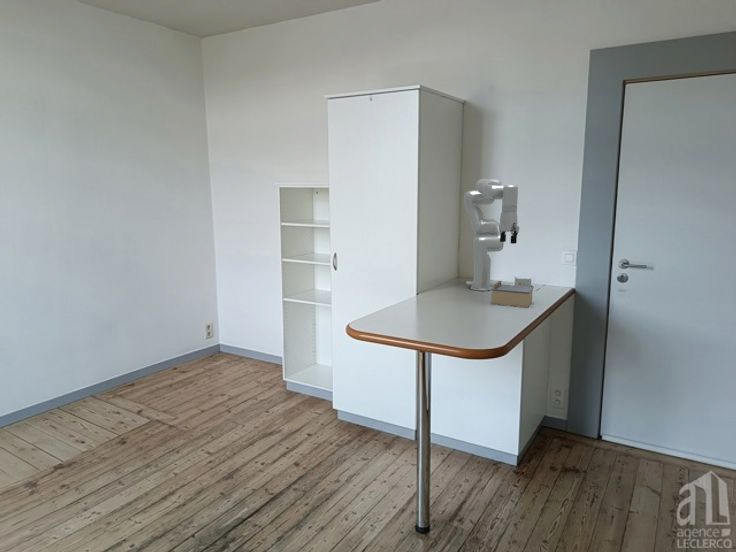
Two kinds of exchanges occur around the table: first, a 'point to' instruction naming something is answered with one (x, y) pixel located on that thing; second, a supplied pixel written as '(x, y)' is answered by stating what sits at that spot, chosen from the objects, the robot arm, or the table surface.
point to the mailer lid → (511, 288)
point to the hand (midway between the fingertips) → (508, 242)
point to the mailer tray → (512, 298)
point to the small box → (523, 281)
